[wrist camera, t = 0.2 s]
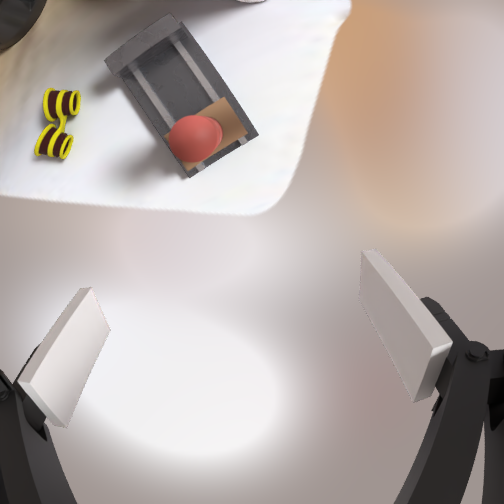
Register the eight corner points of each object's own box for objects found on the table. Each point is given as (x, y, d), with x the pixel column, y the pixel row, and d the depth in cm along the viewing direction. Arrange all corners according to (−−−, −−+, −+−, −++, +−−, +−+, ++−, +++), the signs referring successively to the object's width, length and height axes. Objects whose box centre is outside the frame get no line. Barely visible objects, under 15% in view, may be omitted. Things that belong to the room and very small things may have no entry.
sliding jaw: (167, 135, 33) (138, 142, 23) (225, 97, 31) (217, 88, 21) (190, 168, 35) (170, 189, 25) (247, 132, 33) (250, 138, 23)
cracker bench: (119, 69, 31) (100, 63, 25) (183, 24, 29) (174, 10, 23) (191, 175, 38) (182, 186, 32) (258, 134, 36) (261, 137, 30)
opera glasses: (73, 156, 36) (61, 163, 32) (43, 152, 34) (29, 158, 30) (87, 91, 32) (75, 90, 28) (55, 88, 31) (41, 87, 26)
